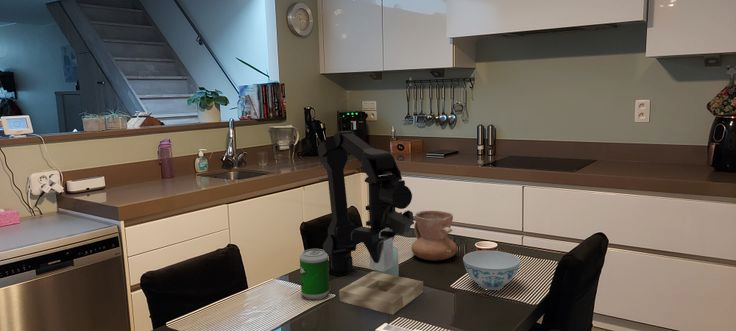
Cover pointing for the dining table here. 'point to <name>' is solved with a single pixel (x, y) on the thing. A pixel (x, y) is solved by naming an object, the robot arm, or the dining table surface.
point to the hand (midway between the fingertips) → (381, 260)
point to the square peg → (384, 255)
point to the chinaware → (491, 268)
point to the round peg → (395, 268)
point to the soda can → (314, 274)
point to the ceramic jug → (433, 235)
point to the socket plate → (381, 292)
